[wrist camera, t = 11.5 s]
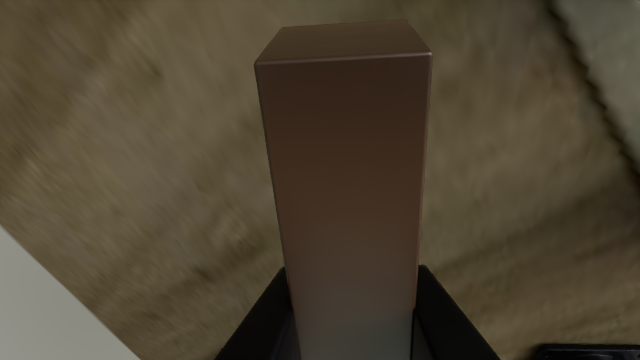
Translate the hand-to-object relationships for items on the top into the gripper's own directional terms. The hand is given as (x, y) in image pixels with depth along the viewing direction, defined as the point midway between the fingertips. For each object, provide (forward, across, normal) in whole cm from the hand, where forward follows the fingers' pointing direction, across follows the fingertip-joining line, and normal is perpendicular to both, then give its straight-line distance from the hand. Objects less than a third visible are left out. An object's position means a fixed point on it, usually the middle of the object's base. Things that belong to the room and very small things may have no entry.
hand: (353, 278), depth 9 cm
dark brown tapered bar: (+1, 0, +3) cm, 3 cm away
